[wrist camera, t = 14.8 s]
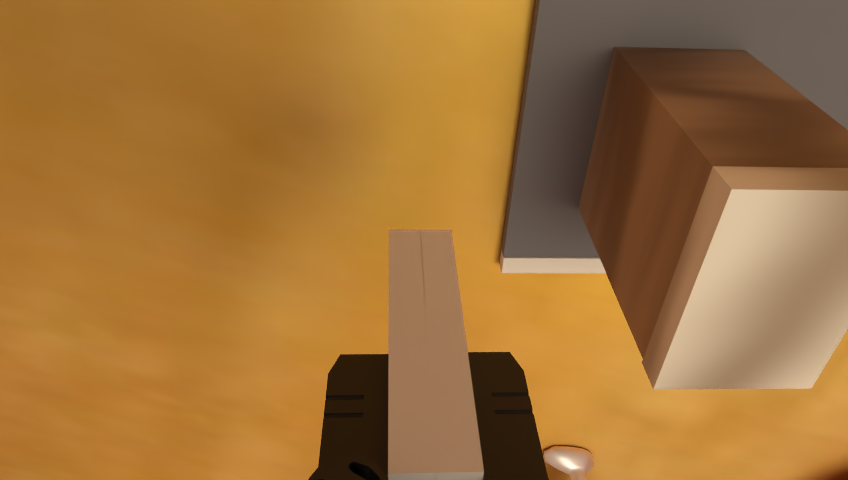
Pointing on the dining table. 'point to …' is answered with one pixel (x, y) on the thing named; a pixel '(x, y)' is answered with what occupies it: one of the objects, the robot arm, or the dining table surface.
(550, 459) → the figurine
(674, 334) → the block
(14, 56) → the dining table surface
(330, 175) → the dining table surface
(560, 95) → the mat
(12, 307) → the dining table surface
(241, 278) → the dining table surface
